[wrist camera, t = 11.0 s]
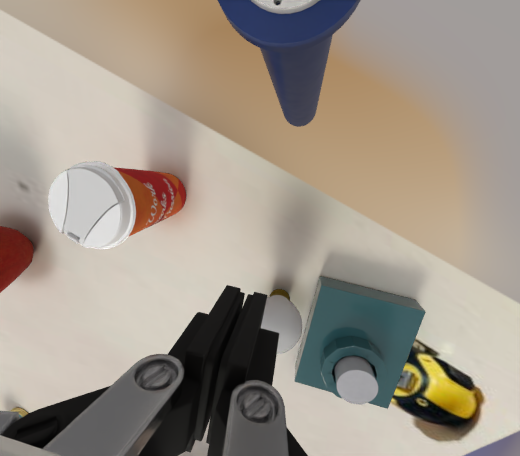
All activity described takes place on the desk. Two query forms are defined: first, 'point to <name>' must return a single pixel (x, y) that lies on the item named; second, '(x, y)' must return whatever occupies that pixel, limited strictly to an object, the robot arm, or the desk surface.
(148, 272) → the desk surface
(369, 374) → the grey push button
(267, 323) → the light bulb
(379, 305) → the teal button base
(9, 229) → the apple
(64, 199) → the paper cup
